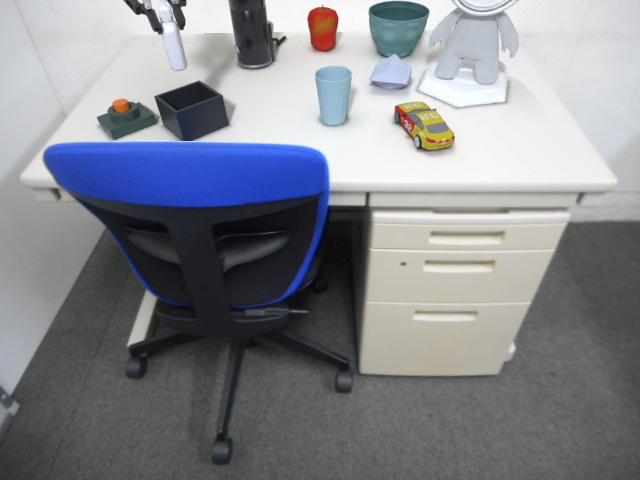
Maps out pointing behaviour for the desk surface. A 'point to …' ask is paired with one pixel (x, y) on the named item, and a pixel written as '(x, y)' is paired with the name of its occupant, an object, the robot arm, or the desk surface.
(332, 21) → the apple
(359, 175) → the desk surface
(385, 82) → the wedge on round base
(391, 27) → the flower pot
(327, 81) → the cup
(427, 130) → the toy car
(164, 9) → the eye dropper bottle
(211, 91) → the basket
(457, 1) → the white toy figurine
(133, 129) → the control block
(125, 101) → the button
